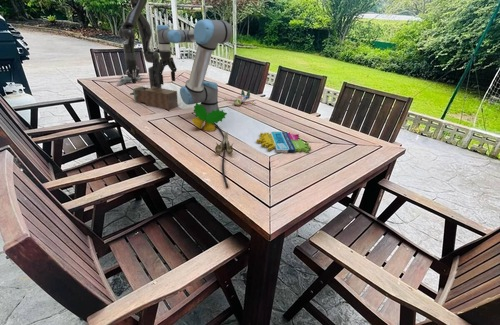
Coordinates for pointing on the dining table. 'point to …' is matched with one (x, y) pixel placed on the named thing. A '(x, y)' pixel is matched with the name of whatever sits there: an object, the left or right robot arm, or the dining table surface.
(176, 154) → the dining table surface
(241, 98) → the toy
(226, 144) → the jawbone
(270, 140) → the sign
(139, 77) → the airplane
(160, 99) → the large taupe box
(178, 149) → the dining table surface
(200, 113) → the ornament
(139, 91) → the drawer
